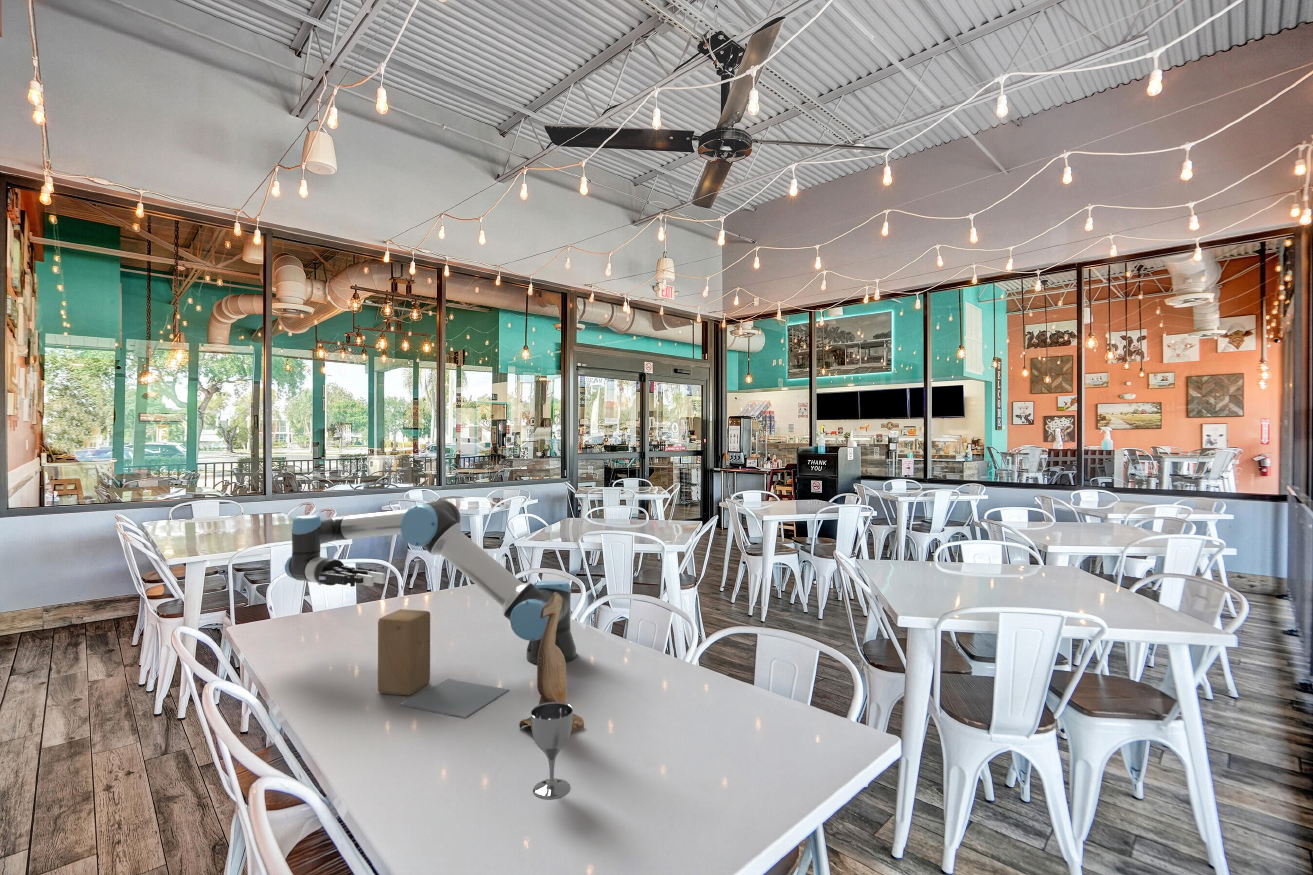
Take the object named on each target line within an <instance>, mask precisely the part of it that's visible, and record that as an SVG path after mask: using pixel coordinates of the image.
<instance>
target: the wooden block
mask: <svg viewBox="0 0 1313 875" xmlns="http://www.w3.org/2000/svg"><path fill="white" fill-rule="evenodd" d="M430 681H431V613H430V611H427V610H419V609H418V610H417V609H415V610H414V609H398V610H395V611H392V612H391V613H388V614H386V615H384V616H382V617H380V618H379V619H378V621H377V691H378V693H379V694H386V695H387V694H389V695H396V696H397V695H398V696H412V695H414V694H415V693H417V692H418V691H419V690H420V689H422V688H424V687H425V686H426V685H428V684H429V683H430Z"/></svg>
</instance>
